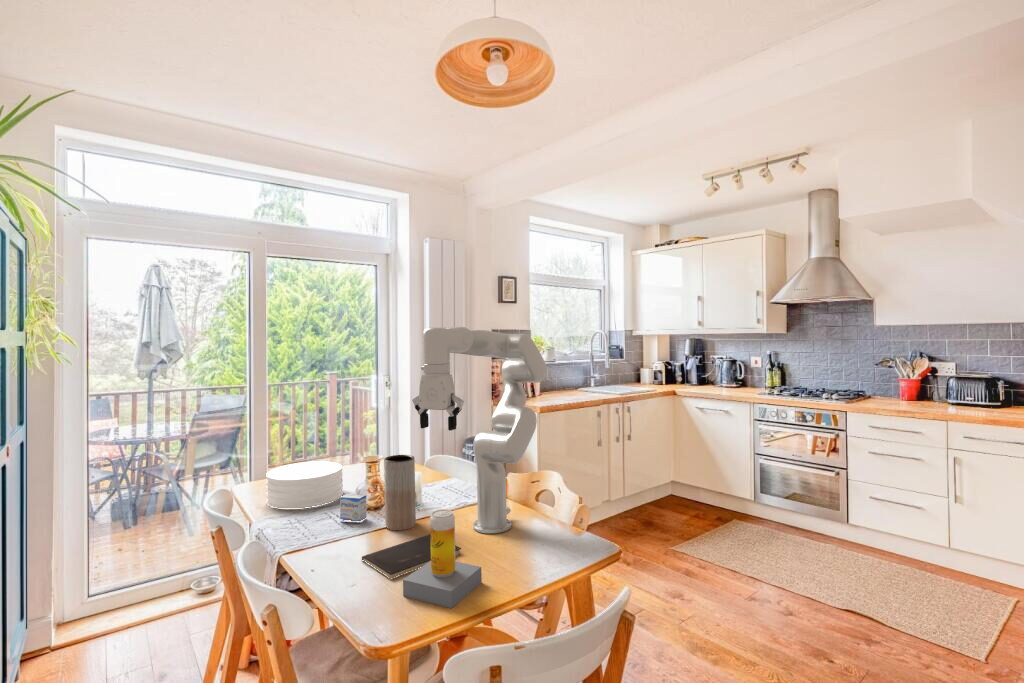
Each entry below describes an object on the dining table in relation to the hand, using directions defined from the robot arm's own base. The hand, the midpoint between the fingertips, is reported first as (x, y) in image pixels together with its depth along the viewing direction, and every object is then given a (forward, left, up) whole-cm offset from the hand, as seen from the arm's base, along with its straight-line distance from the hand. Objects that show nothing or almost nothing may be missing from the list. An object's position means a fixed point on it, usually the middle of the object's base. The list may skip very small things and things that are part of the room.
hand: (438, 428), depth 152 cm
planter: (-13, -25, -36) cm, 46 cm away
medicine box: (-10, -43, -37) cm, 57 cm away
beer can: (+18, +13, -32) cm, 39 cm away
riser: (+18, +13, -36) cm, 43 cm away
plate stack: (-22, -79, -37) cm, 90 cm away
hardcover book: (+6, -6, -37) cm, 38 cm away
